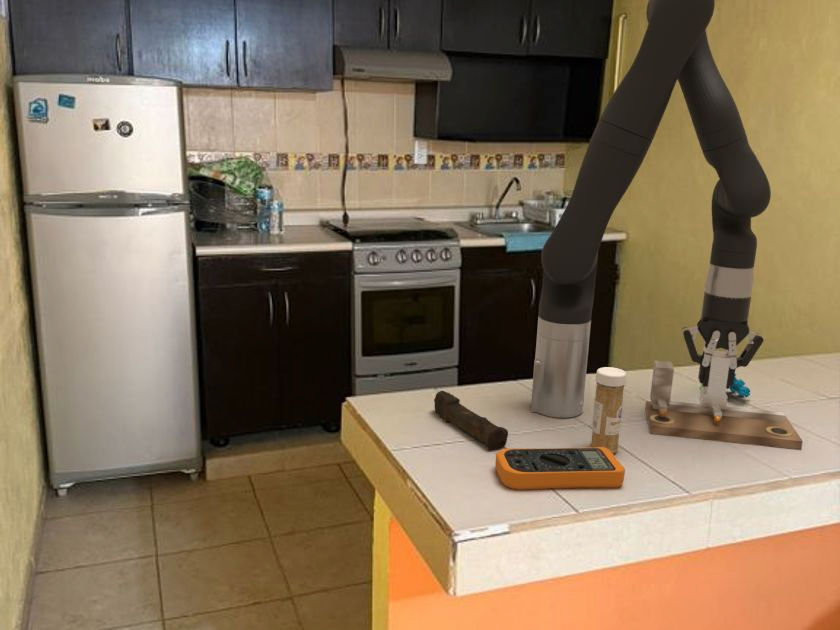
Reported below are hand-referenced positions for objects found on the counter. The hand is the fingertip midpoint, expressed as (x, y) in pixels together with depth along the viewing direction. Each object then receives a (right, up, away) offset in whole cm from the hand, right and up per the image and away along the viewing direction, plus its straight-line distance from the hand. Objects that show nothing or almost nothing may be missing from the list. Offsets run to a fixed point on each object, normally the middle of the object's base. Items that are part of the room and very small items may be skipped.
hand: (715, 385), depth 137 cm
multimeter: (-32, -12, -22) cm, 40 cm away
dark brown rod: (-45, -7, -6) cm, 46 cm away
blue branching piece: (+7, -4, +15) cm, 17 cm away
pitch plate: (0, -7, -1) cm, 7 cm away
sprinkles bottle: (-23, -9, -12) cm, 27 cm away
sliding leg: (-1, -5, -1) cm, 5 cm away
